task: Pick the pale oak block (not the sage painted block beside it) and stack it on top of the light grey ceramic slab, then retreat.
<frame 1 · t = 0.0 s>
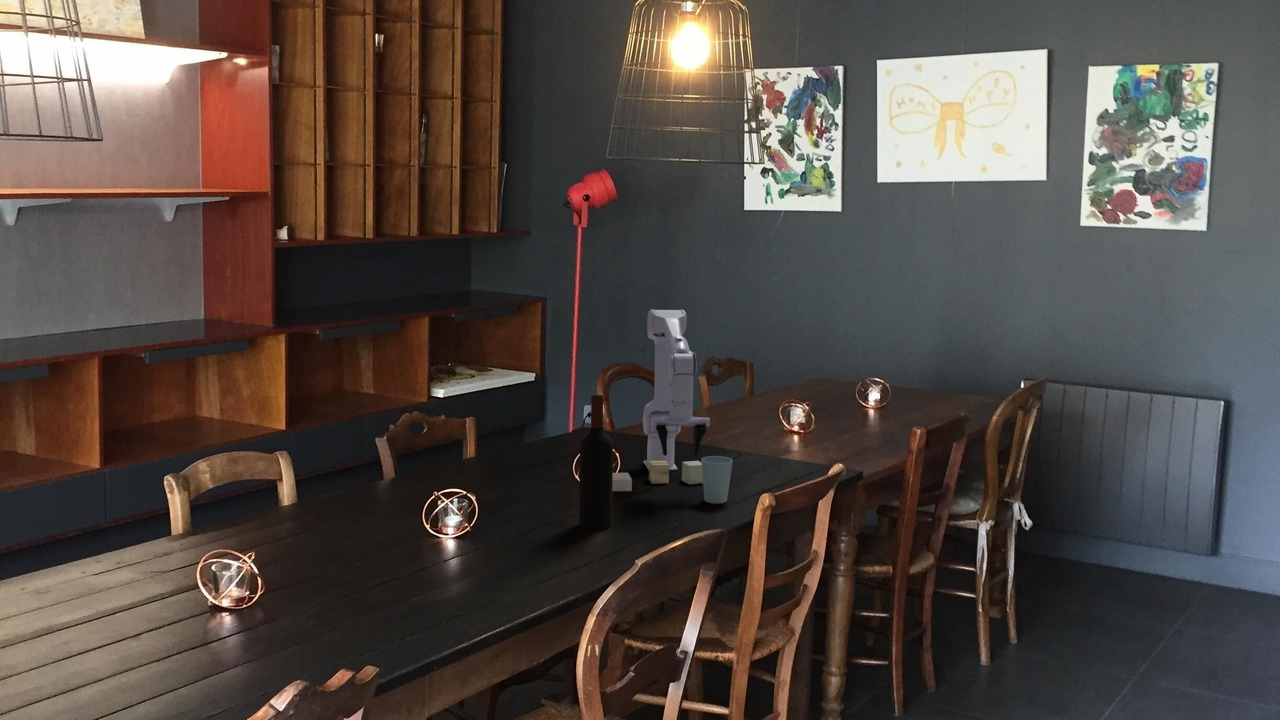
hand: (679, 454, 308), 10 cm above the table, fingers open, 7 cm apart
wine bottle: (595, 526, 281), on the table
sage block: (693, 481, 322), on the table
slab: (616, 487, 314), on the table
oak block: (658, 481, 322), on the table
cup: (715, 501, 304), on the table
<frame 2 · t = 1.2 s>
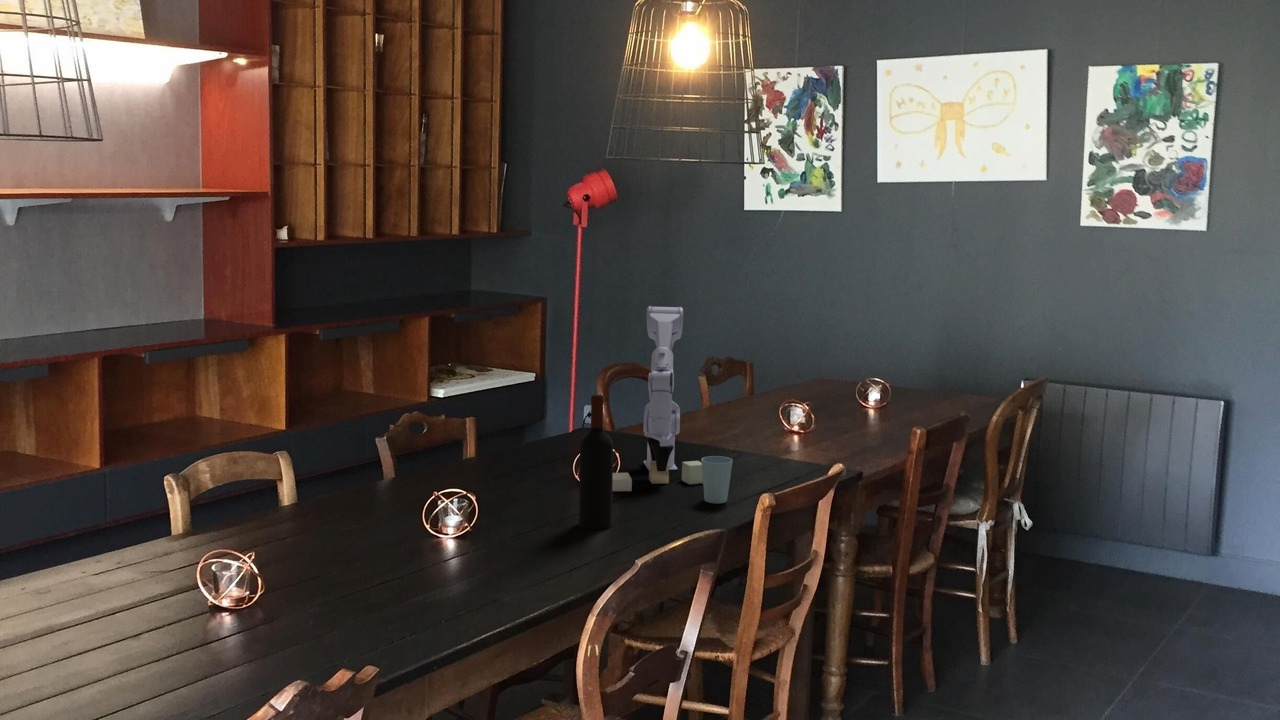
hand: (659, 467, 321), 4 cm above the table, fingers open, 7 cm apart
nothing on the table moved.
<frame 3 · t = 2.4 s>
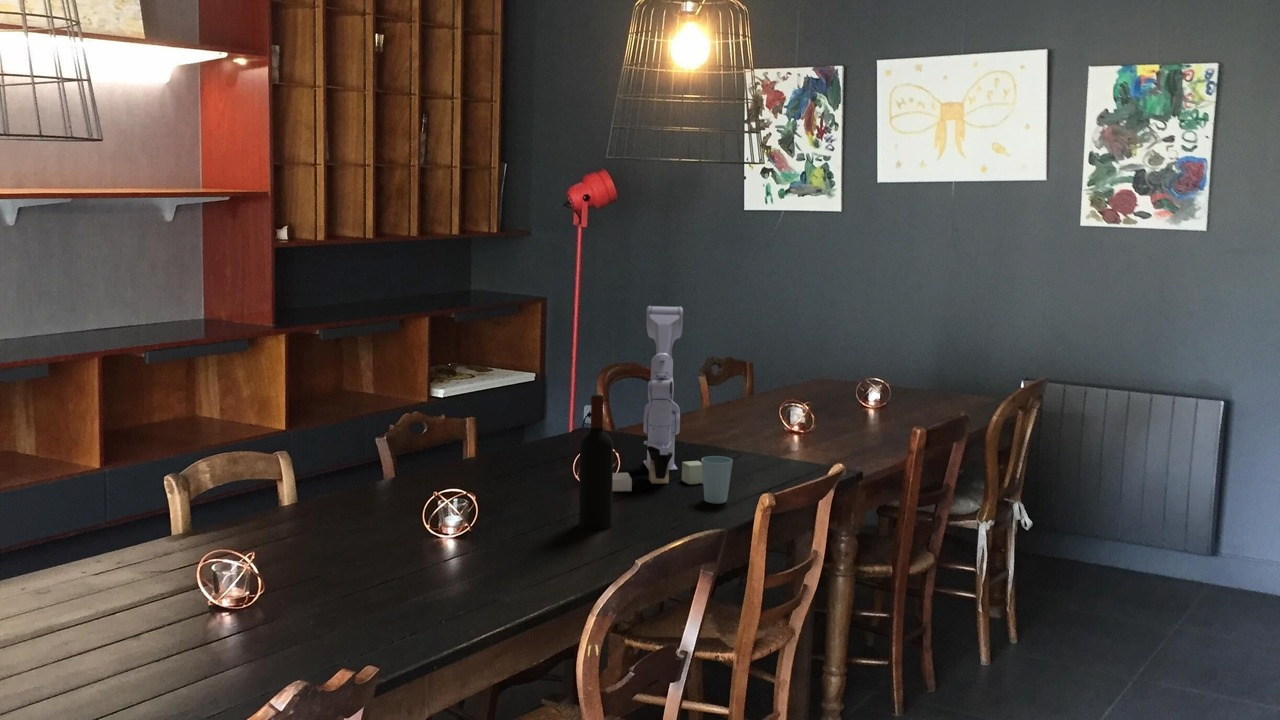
hand: (658, 475, 322), 1 cm above the table, fingers closed on oak block, 4 cm apart
oak block: (658, 481, 322), on the table, touching gripper
everything else where it was.
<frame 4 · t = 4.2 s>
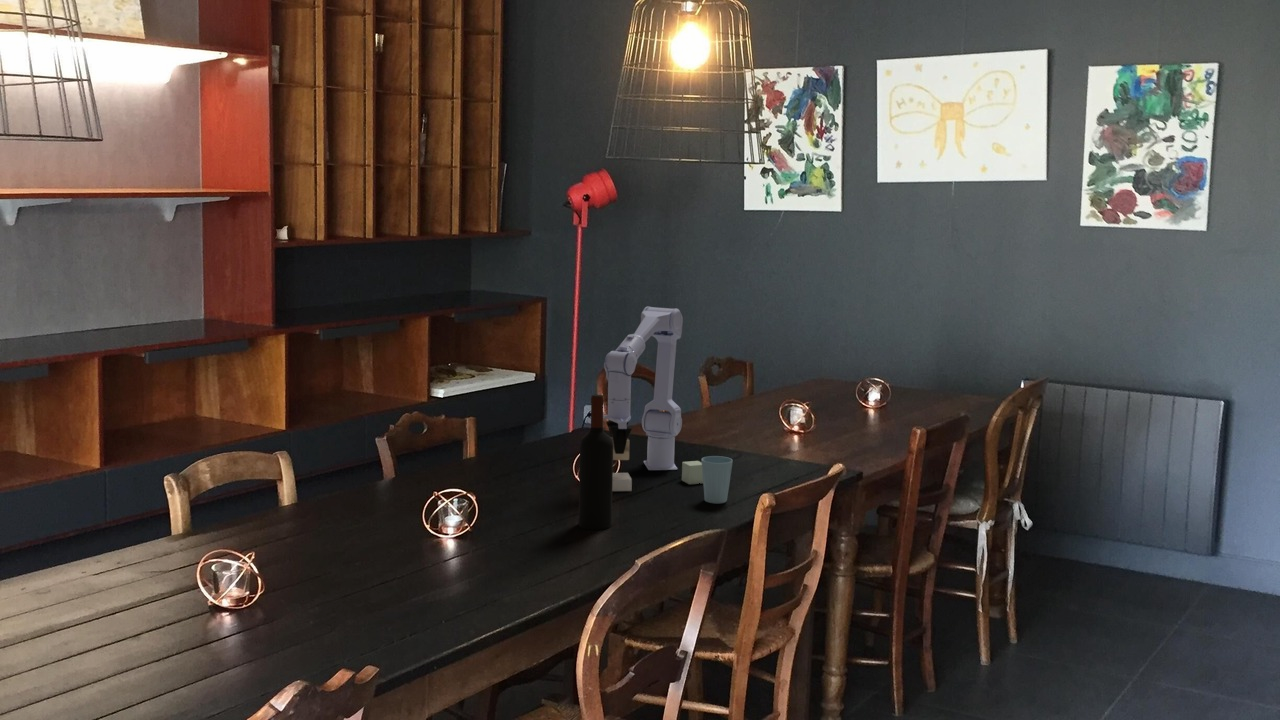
hand: (618, 451, 313), 9 cm above the table, fingers closed on oak block, 4 cm apart
oak block: (619, 458, 313), point 8 cm above the table, touching gripper
everything else where it was.
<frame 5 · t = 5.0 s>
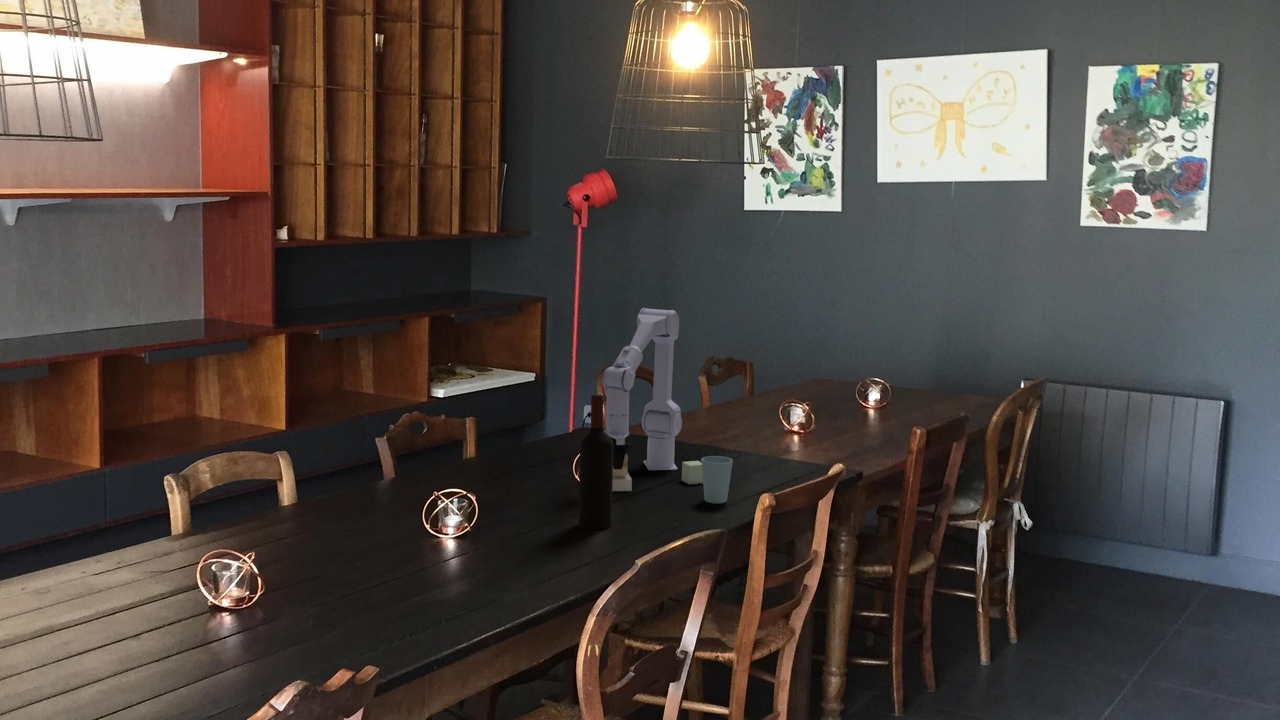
hand: (616, 466, 313), 6 cm above the table, fingers closed on oak block, 4 cm apart
oak block: (617, 473, 314), point 4 cm above the table, touching gripper
everything else where it was.
when the fingers open (5 cm above the table, at t = 5.9 s): oak block stays where it is, resting on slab.
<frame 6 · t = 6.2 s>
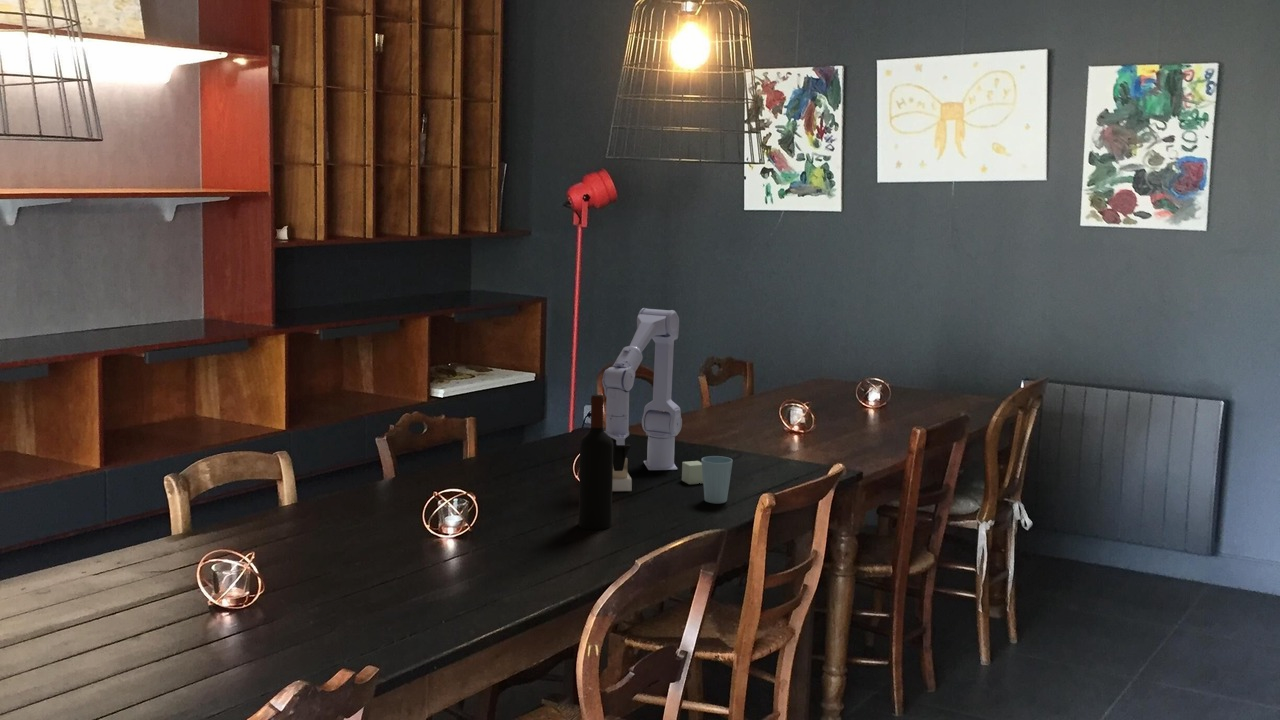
hand: (616, 467, 313), 5 cm above the table, fingers open, 7 cm apart
oak block: (617, 476, 314), point 3 cm above the table, touching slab
everything else where it was.
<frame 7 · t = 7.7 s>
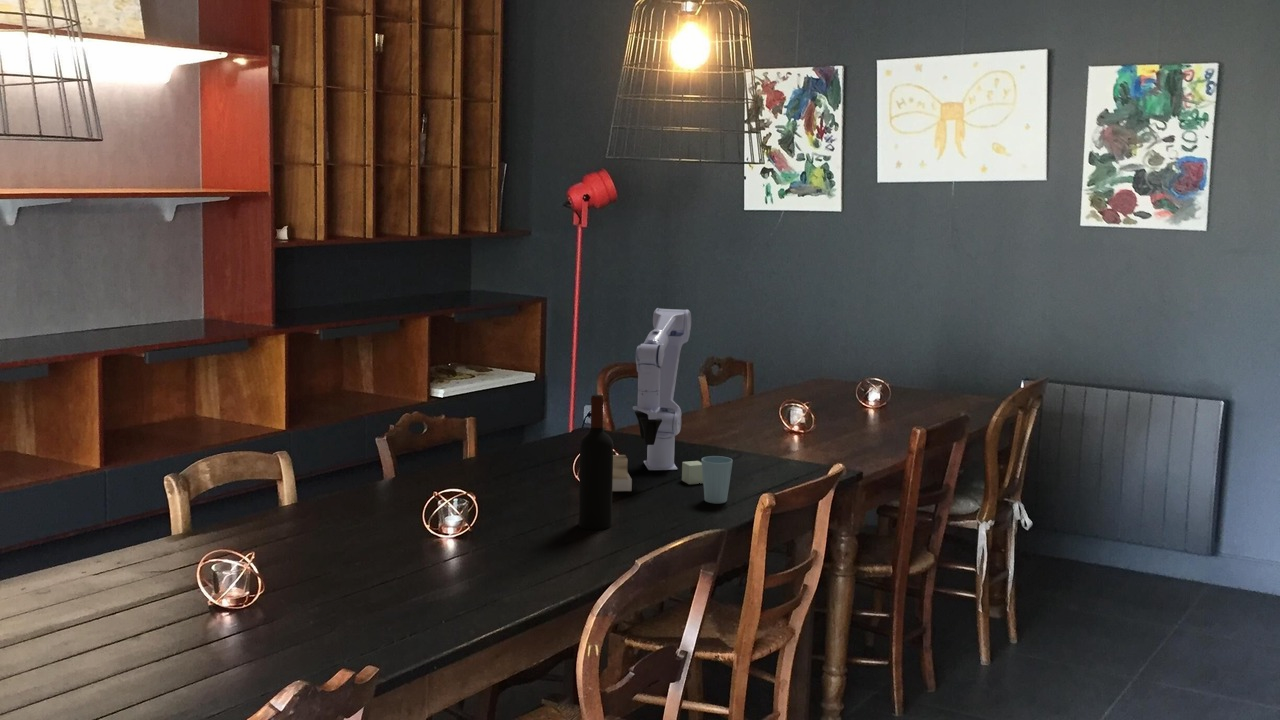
hand: (647, 441, 321), 10 cm above the table, fingers open, 7 cm apart
nothing on the table moved.
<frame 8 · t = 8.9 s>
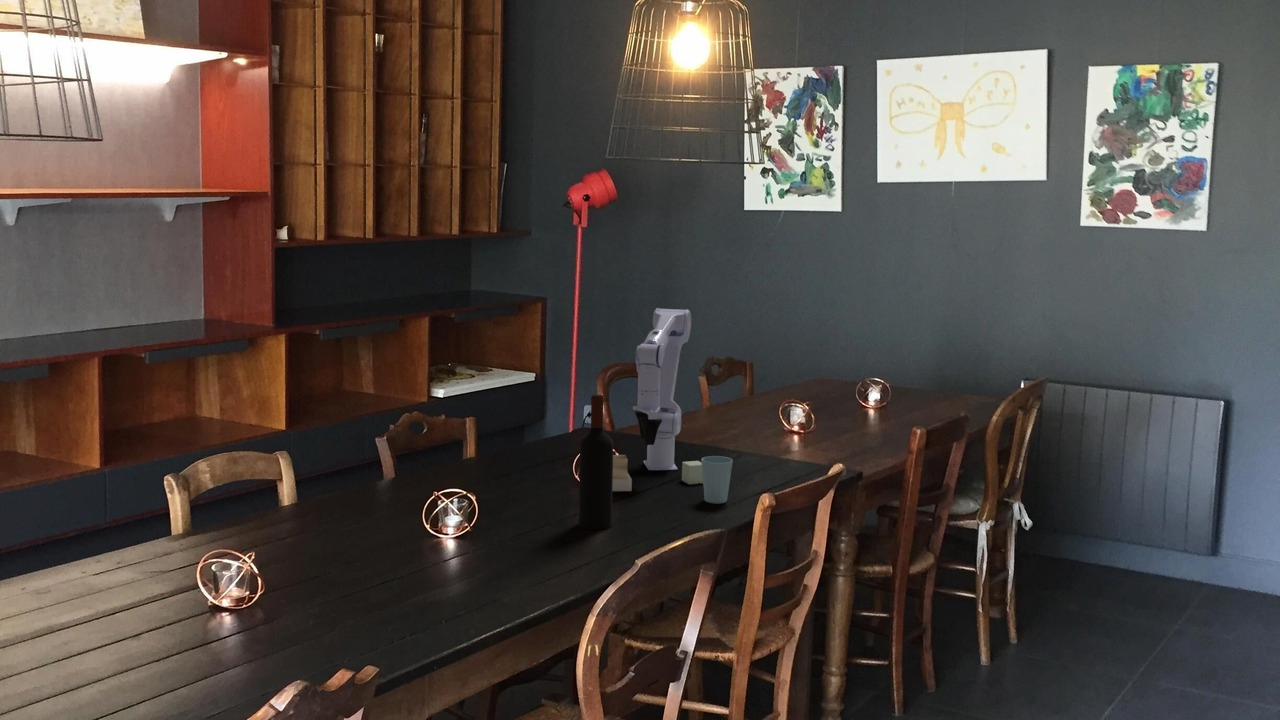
hand: (647, 441, 321), 10 cm above the table, fingers open, 7 cm apart
nothing on the table moved.
at the end: oak block 0.2 cm off-centre on the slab, point 3.0 cm above the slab's base; oak block tilted 0°; the gripper is holding nothing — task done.
